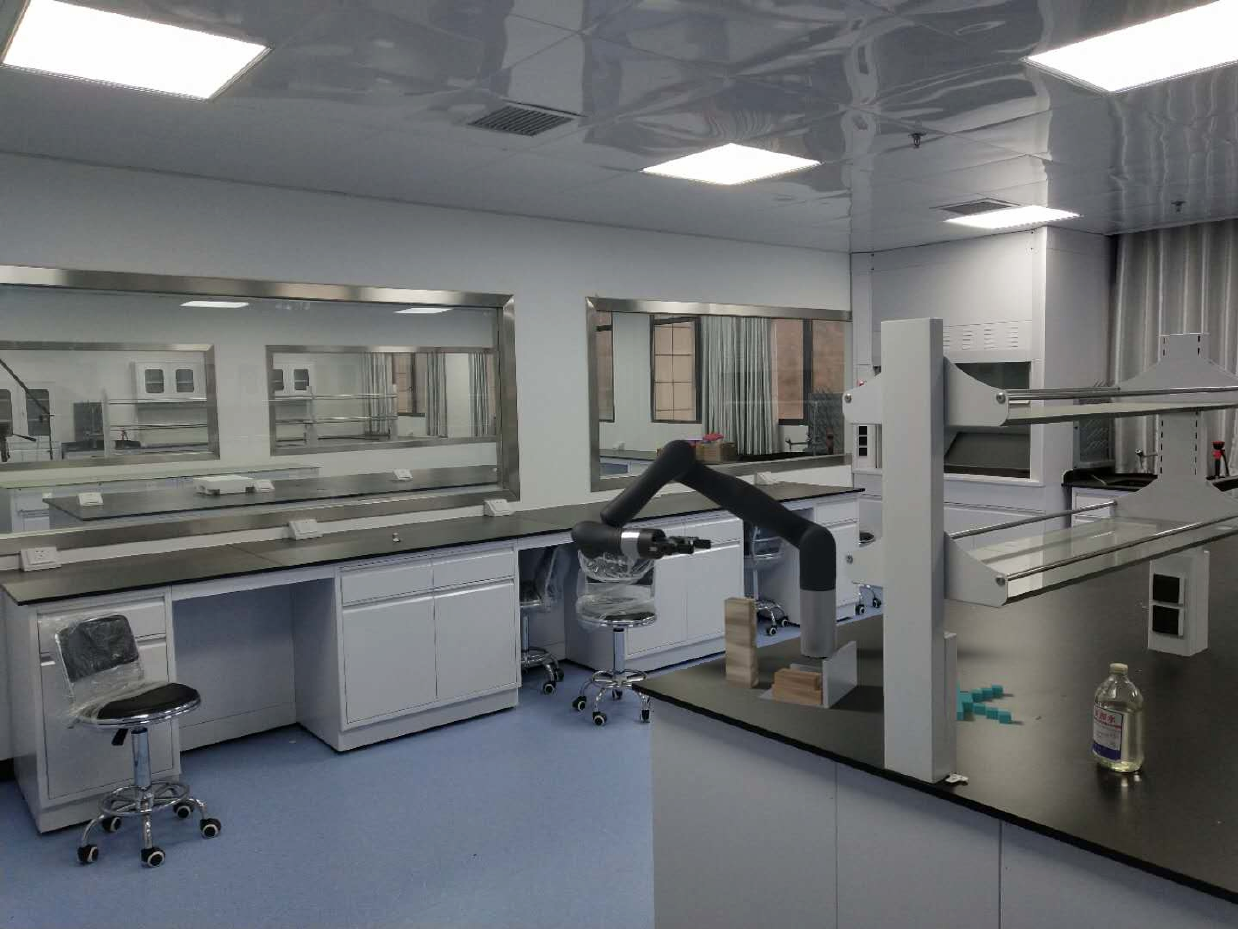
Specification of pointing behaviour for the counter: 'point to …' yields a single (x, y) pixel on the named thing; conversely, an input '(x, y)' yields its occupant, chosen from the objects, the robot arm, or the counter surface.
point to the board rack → (830, 676)
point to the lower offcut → (798, 693)
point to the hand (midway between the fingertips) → (701, 547)
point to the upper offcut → (798, 679)
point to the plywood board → (741, 642)
